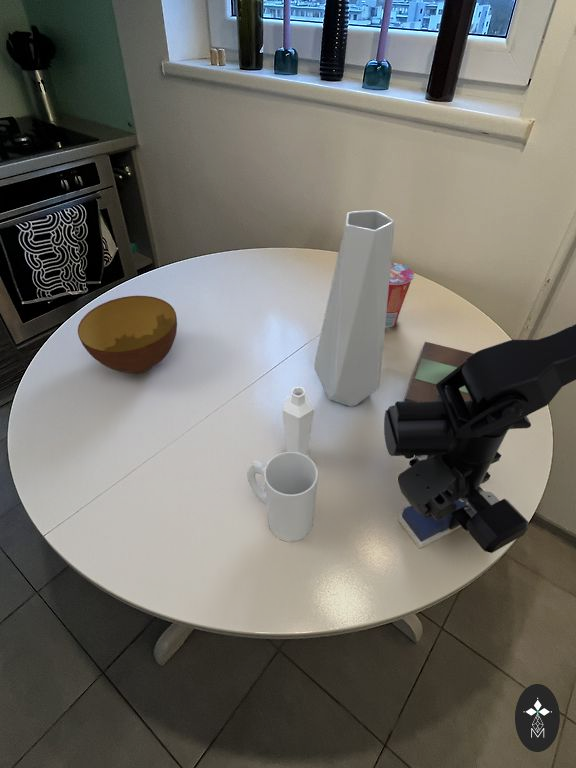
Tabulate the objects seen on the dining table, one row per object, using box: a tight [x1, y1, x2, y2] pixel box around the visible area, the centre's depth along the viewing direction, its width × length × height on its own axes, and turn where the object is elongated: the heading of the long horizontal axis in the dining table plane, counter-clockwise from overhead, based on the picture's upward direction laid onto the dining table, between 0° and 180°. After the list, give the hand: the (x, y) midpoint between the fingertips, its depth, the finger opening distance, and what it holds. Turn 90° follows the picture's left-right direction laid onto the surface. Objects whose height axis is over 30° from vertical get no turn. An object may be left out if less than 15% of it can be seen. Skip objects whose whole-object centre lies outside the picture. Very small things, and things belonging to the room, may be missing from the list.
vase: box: [313, 209, 395, 407], centre depth 73 cm, size 12×12×33 cm
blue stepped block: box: [397, 500, 468, 549], centre depth 64 cm, size 11×5×5 cm, turn 116°
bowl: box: [77, 295, 178, 374], centre depth 87 cm, size 18×18×10 cm
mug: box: [246, 451, 319, 543], centre depth 61 cm, size 10×7×12 cm, turn 62°
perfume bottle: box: [281, 386, 315, 457], centre depth 68 cm, size 5×4×15 cm
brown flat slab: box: [403, 341, 475, 402], centre depth 86 cm, size 14×18×1 cm
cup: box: [385, 262, 415, 329], centre depth 96 cm, size 9×8×12 cm
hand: (440, 513), depth 65 cm, fingers closed on blue stepped block, 4 cm apart
